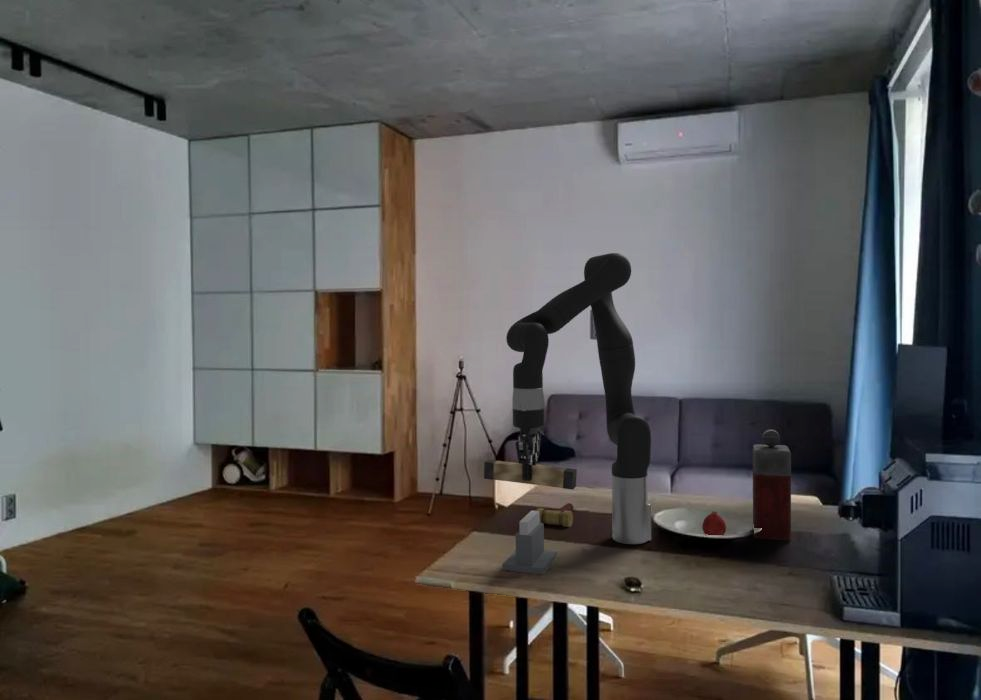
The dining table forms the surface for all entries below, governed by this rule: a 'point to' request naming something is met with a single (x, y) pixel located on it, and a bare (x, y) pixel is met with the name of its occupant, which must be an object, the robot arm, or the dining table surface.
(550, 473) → the oak beam
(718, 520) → the onion
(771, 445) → the red liquor decanter
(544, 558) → the stand
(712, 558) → the dining table surface
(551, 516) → the gavel
